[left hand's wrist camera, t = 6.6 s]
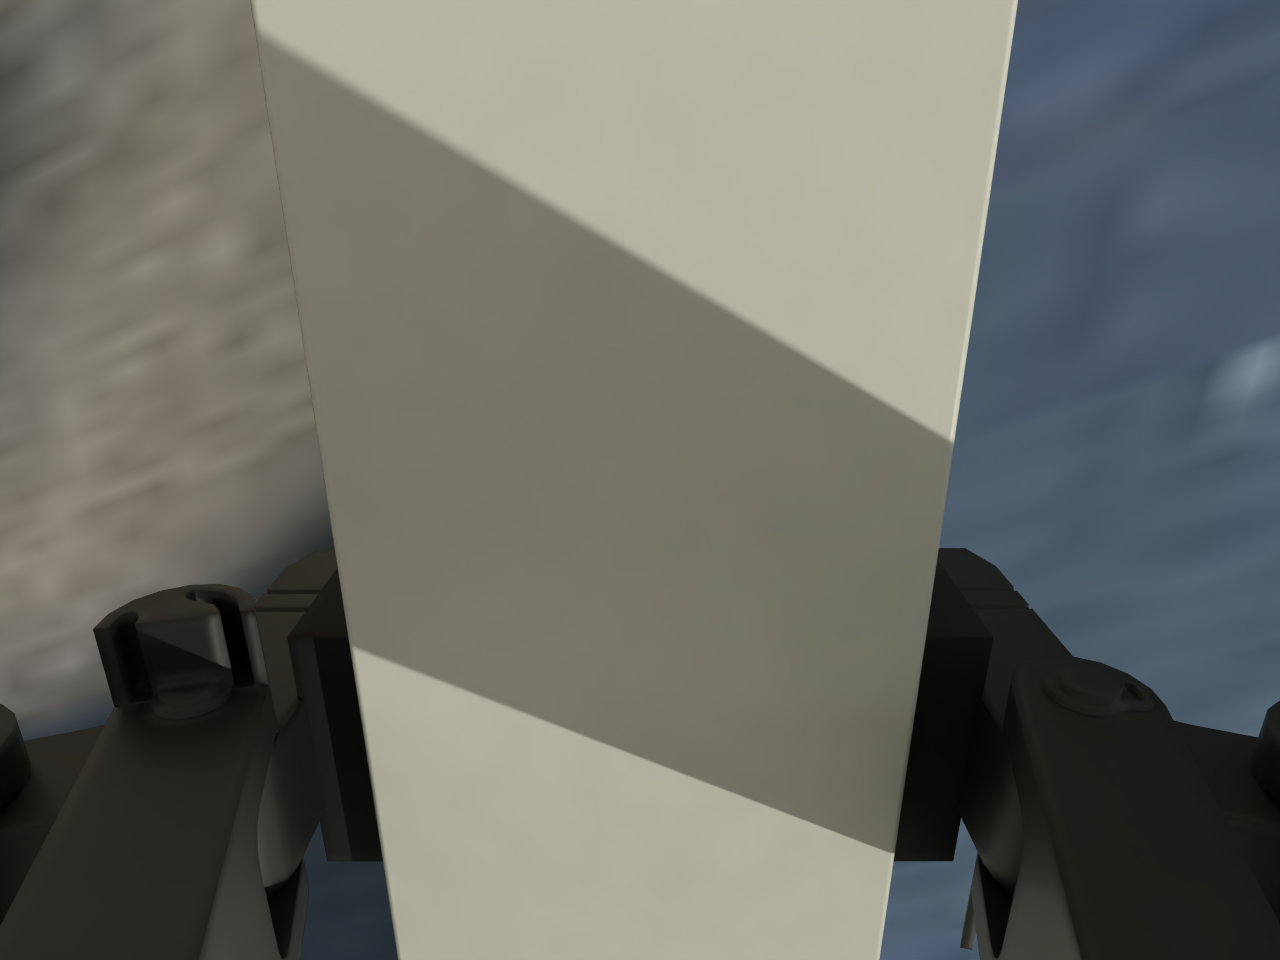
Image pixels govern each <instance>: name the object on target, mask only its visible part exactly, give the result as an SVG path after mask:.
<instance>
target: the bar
mask: <svg viewBox="0 0 1280 960" xmlns="http://www.w3.org/2000/svg"><path fill="white" fill-rule="evenodd" d="M1017 3H1018V0H251V7H252V13H253V20H254V26H255V33H256V39H257V46H258V52H259V59H260V65H261V72H262V78H263V85H264V91H265V98H266V104H267V111H268V117H269V124H270V130H271V137H272V143H273V150H274V156H275V163H276V169H277V176H278V182H279V189H280V195H281V202H282V208H283V215H284V221H285V228H286V234H287V241H288V247H289V254H290V260H291V267H292V273H293V280H294V286H295V293H296V299H297V306H298V312H299V319H300V325H301V332H302V338H303V345H304V351H305V358H306V364H307V371H308V377H309V384H310V390H311V397H312V403H313V410H314V416H315V423H316V429H317V436H318V442H319V449H320V455H321V461H322V468H323V474H324V481H325V487H326V494H327V500H328V507H329V513H330V520H331V526H332V533H333V539H334V546H335V552H336V559H337V565H338V572H339V578H340V585H341V591H342V598H343V604H344V611H345V617H346V624H347V630H348V637H349V643H350V650H351V656H352V663H353V669H354V676H355V682H356V689H357V695H358V702H359V708H360V715H361V721H362V728H363V734H364V741H365V747H366V754H367V760H368V767H369V773H370V780H371V786H372V793H373V799H374V806H375V812H376V819H377V825H378V832H379V838H380V845H381V851H382V858H383V864H384V871H385V877H386V884H387V890H388V897H389V903H390V910H391V916H392V922H393V929H394V935H395V942H396V948H397V955H398V960H879V957H880V950H881V944H882V937H883V930H884V923H885V916H886V909H887V902H888V895H889V888H890V881H891V874H892V867H893V861H894V854H895V847H896V840H897V833H898V826H899V819H900V812H901V805H902V798H903V791H904V784H905V778H906V771H907V764H908V757H909V750H910V743H911V736H912V729H913V722H914V715H915V708H916V701H917V695H918V688H919V681H920V674H921V667H922V660H923V653H924V646H925V639H926V632H927V625H928V618H929V612H930V605H931V598H932V591H933V584H934V577H935V570H936V563H937V556H938V549H939V542H940V536H941V529H942V522H943V515H944V508H945V501H946V494H947V487H948V480H949V473H950V466H951V459H952V453H953V446H954V439H955V432H956V425H957V418H958V411H959V404H960V397H961V390H962V383H963V376H964V370H965V363H966V356H967V349H968V342H969V335H970V328H971V321H972V314H973V307H974V300H975V294H976V287H977V280H978V273H979V266H980V259H981V252H982V245H983V238H984V231H985V224H986V217H987V211H988V204H989V197H990V190H991V183H992V176H993V169H994V162H995V155H996V148H997V141H998V134H999V128H1000V121H1001V114H1002V107H1003V100H1004V93H1005V86H1006V79H1007V72H1008V65H1009V58H1010V51H1011V45H1012V38H1013V31H1014V24H1015V17H1016V10H1017Z"/></svg>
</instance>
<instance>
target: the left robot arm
mask: <svg viewBox="0 0 1280 960" xmlns="http://www.w3.org/2000/svg"><path fill="white" fill-rule="evenodd" d="M93 631H94V634H95V638H96V642H97V645H98V649H99V652H100V656H101V660H102V663H103V667H104V670H105V674H106V678H107V681H108V685H109V688H110V692H111V696H112V699H113V703H114V706H115V707H114V709H113V711H112V713H111V715H110V717H109V719H108V720H107V722H106V724H105V725H103V726H99V727H95V728H90V729H85V730H80V731H75V732H69V733H64V734H59V735H54V736H48V737H43V738H38V739H33V740H28V741H23V738H22V735H21V732H20V729H19V726H18V723H17V720H16V717H15V714H14V713H13V712H12V711H10V710H9V709H8V708H6V707H5V706H4V705H2V704H0V960H300V959H301V951H302V943H303V935H304V928H305V920H306V912H307V905H308V897H309V888H308V881H307V874H306V869H305V864H304V859H303V855H304V852H305V850H306V848H307V846H308V844H309V842H310V840H311V838H312V836H313V834H314V832H315V829H316V827H317V825H318V823H319V821H320V823H321V828H322V834H323V840H324V845H325V851H326V856H327V861H383V858H382V851H381V845H380V838H379V832H378V825H377V819H376V812H375V806H374V799H373V793H372V786H371V780H370V773H369V767H368V760H367V754H366V747H365V741H364V734H363V728H362V721H361V715H360V708H359V702H358V695H357V689H356V682H355V676H354V669H353V663H352V656H351V650H350V643H349V637H348V630H347V624H346V617H345V611H344V604H343V598H342V591H341V585H340V578H339V572H338V565H337V559H336V552H335V551H315V552H313V553H312V554H310V555H308V556H306V557H305V558H303V559H301V560H300V561H298V562H296V563H295V564H293V565H291V566H289V567H288V568H286V569H285V570H284V571H283V572H282V573H281V575H280V576H279V577H278V578H277V579H276V580H275V582H274V583H273V584H272V585H271V586H270V588H269V589H268V593H267V594H264V595H263V596H262V597H261V598H260V599H259V601H258V602H257V603H256V604H255V605H254V600H253V597H252V596H251V595H249V594H248V593H246V592H245V591H244V590H242V589H241V588H236V587H231V586H226V585H221V584H204V585H189V586H183V587H178V588H173V589H167V590H162V591H159V592H156V593H153V594H151V595H148V596H145V597H142V598H139V599H136V600H133V601H131V602H129V603H128V604H126V605H124V606H122V607H120V608H119V609H117V610H115V611H113V612H111V613H109V614H108V615H107V616H106V617H105V618H104V619H103V620H102V621H101V622H100V623H99V624H98V625H97V626H96V627H95V628H94V629H93ZM961 818H962V820H963V822H964V824H965V826H966V828H967V830H968V832H969V834H970V836H971V839H972V841H973V843H974V845H975V847H976V849H977V851H978V854H977V859H976V864H975V869H974V874H973V879H972V885H971V890H970V895H969V900H968V905H967V910H966V916H965V921H964V926H963V932H962V939H961V946H960V948H965V949H970V950H972V947H973V942H974V937H975V932H976V933H977V941H978V949H979V957H980V960H1280V701H1279V702H1277V703H1276V704H1275V705H1273V706H1272V707H1270V708H1269V709H1268V710H1267V713H1266V716H1265V719H1264V722H1263V725H1262V728H1261V731H1260V734H1259V737H1252V736H1247V735H1242V734H1237V733H1231V732H1226V731H1221V730H1216V729H1210V728H1205V727H1200V726H1195V725H1189V724H1185V723H1181V722H1177V721H1173V719H1172V717H1171V715H1170V713H1169V711H1168V709H1167V707H1166V706H1165V704H1164V703H1163V702H1162V701H1161V700H1160V699H1159V697H1158V696H1157V695H1156V694H1155V693H1154V692H1153V690H1152V689H1151V688H1149V687H1148V686H1146V685H1144V684H1143V683H1141V682H1140V681H1138V680H1137V679H1135V678H1134V677H1132V676H1131V675H1129V674H1127V673H1125V672H1122V671H1120V670H1117V669H1115V668H1112V667H1110V666H1108V665H1105V664H1103V663H1100V662H1095V661H1091V660H1086V659H1082V658H1077V657H1073V656H1072V655H1071V654H1070V652H1069V651H1068V650H1067V649H1066V648H1065V647H1064V645H1063V644H1062V643H1061V642H1060V641H1059V640H1058V638H1057V637H1056V636H1055V635H1054V634H1053V633H1052V631H1051V630H1050V629H1049V628H1048V627H1047V625H1046V624H1045V623H1044V622H1043V621H1042V620H1041V618H1040V617H1039V616H1038V615H1037V614H1036V613H1035V611H1034V610H1033V609H1029V607H1028V603H1027V602H1026V601H1025V600H1024V599H1023V597H1022V596H1021V595H1020V594H1019V593H1018V592H1017V591H1014V587H1013V586H1012V585H1011V583H1010V582H1009V581H1008V580H1007V579H1006V578H1005V576H1004V575H1003V574H1002V573H1001V572H1000V571H999V569H998V568H997V567H996V566H995V565H993V564H991V563H990V562H988V561H986V560H984V559H983V558H981V557H979V556H978V555H976V554H974V553H972V552H971V551H969V550H967V549H965V548H939V549H938V556H937V563H936V570H935V577H934V584H933V591H932V598H931V605H930V612H929V618H928V625H927V632H926V639H925V646H924V653H923V660H922V667H921V674H920V681H919V688H918V695H917V701H916V708H915V715H914V722H913V729H912V736H911V743H910V750H909V757H908V764H907V771H906V778H905V784H904V791H903V798H902V805H901V812H900V819H899V826H898V833H897V840H896V847H895V854H894V861H953V859H954V854H955V848H956V843H957V837H958V832H959V826H960V820H961Z"/></svg>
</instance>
